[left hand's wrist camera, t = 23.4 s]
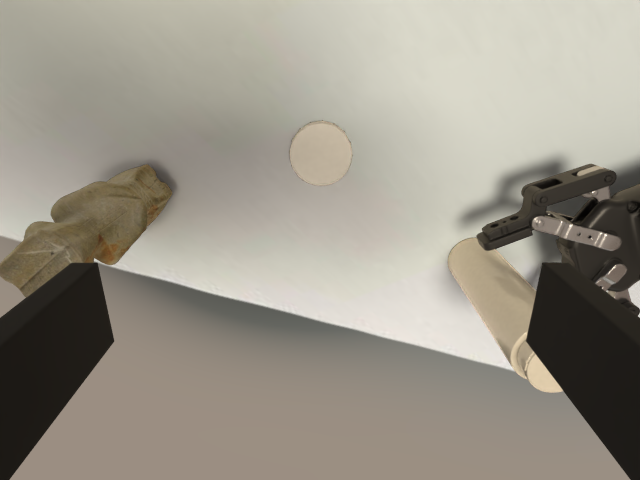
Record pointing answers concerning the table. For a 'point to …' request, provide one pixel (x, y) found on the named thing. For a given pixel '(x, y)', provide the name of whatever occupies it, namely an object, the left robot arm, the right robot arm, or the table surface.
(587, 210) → the right robot arm
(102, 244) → the sculpture
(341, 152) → the lid
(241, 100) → the table surface
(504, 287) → the beige bottle
